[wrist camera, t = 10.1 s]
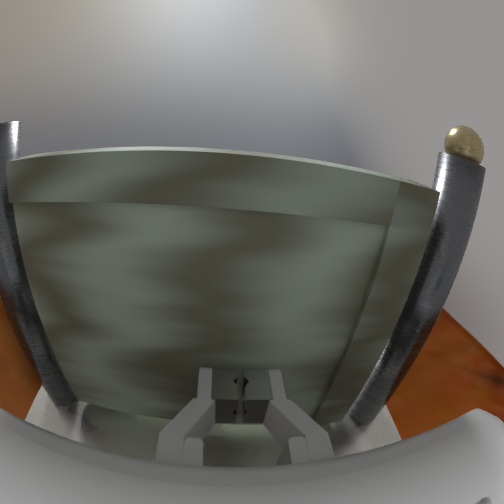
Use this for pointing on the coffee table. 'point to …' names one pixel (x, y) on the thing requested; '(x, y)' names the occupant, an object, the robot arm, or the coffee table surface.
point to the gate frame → (253, 436)
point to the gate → (215, 270)
